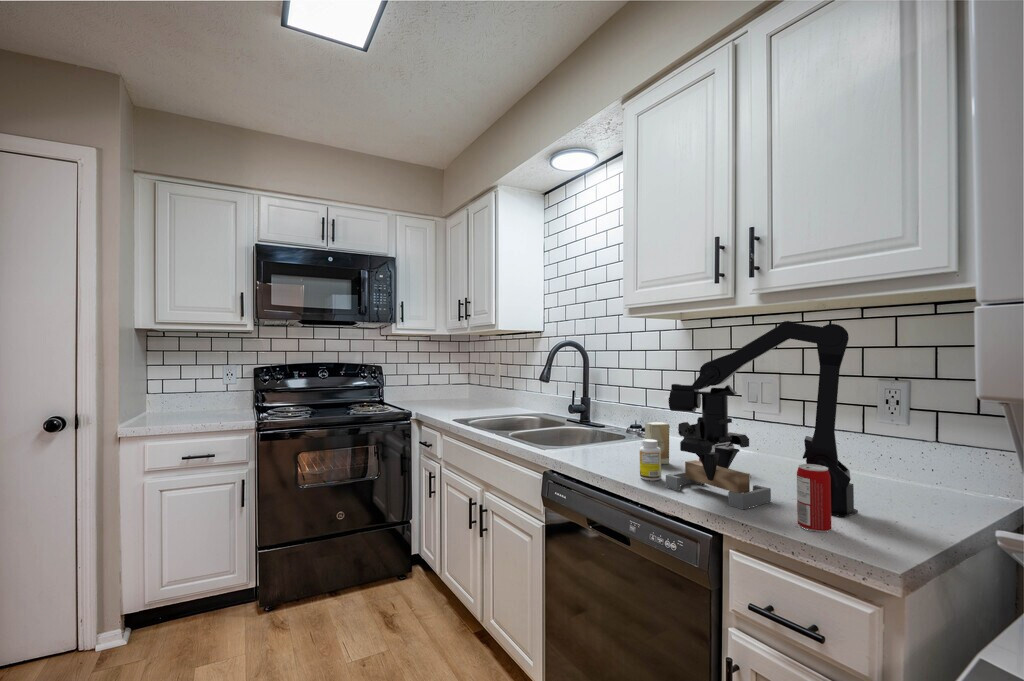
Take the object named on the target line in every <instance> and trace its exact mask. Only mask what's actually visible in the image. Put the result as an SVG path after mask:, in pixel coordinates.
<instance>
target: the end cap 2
mask: <svg viewBox="0 0 1024 681" xmlns="http://www.w3.org/2000/svg"><path fill="white" fill-rule="evenodd" d="M771 491H772V490H771V487H765V486H763V485H758V484H753V485H752V490H750V492H746V493H738V492H734V491H727V496H728V498H727V499H728V506H729V505H730V507H733V506H734V507H733V508H736V507H737V509H740V510H746V508H747V509H749V507H750V508H754V507H757V506H756V505H758V506H761V505H764V503H765V504H768V503H771V502H772V496H771V495H772V494H771V493H772V492H771ZM770 501H771V502H770ZM767 502H768V503H767ZM760 504H761V505H760ZM753 506H754V507H753Z"/></svg>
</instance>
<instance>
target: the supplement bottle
mask: <svg viewBox="0 0 1024 681" xmlns="http://www.w3.org/2000/svg"><path fill="white" fill-rule="evenodd" d="M641 443H642V444H641V445H642V446H640V447H639V477H640V478H641V479H642V480H644V481H645V480H646V481H649V480H650V481H652V482H656V481H659V480H661V479H662V464H661V449H660V448H659V447H658V441H657V440H653V439H645V438H644V439H642V442H641Z"/></svg>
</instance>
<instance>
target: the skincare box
mask: <svg viewBox="0 0 1024 681" xmlns="http://www.w3.org/2000/svg"><path fill="white" fill-rule="evenodd" d="M644 439H653V440H657V441H658V447H659V448H660V449H661V465H669V464H670V423H666V422H662V421H661V422H660V421H657V422H656V421H655V422H652V421H651V422H645V423H644Z"/></svg>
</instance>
